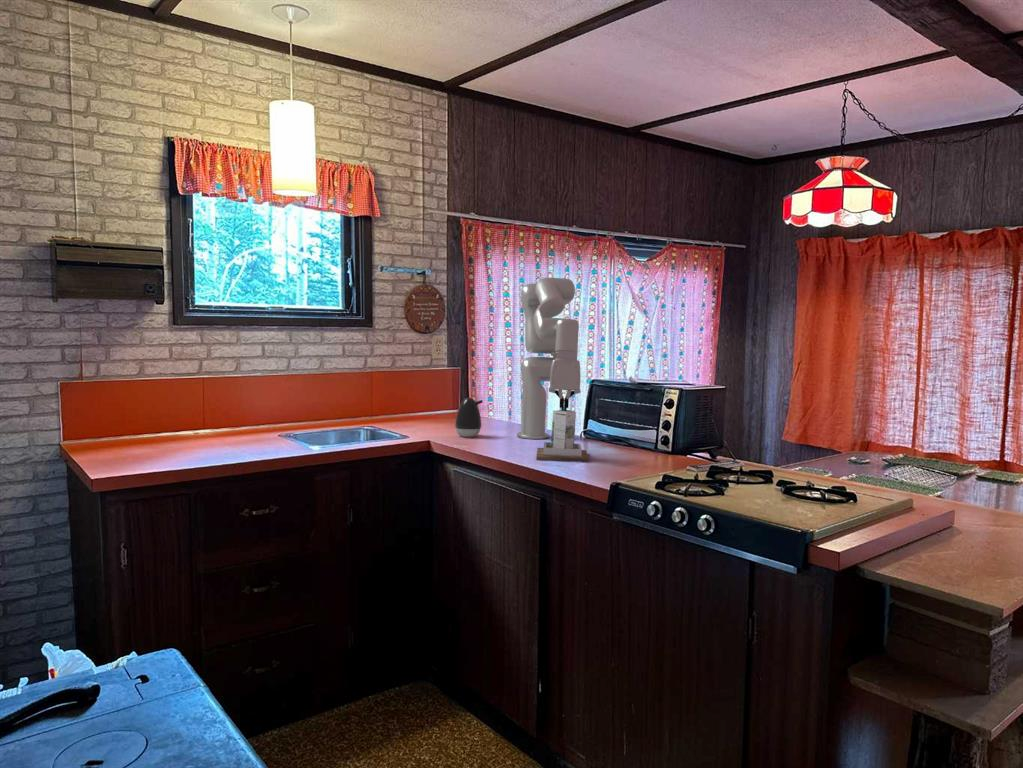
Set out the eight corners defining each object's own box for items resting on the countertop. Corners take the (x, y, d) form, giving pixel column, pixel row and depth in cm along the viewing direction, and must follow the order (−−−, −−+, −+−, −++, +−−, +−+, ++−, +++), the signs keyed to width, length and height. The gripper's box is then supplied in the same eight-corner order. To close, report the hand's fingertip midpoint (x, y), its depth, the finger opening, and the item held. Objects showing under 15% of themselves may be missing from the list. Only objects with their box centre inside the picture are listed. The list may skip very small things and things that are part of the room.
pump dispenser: (480, 439, 283) (482, 399, 281) (453, 437, 283) (454, 398, 281) (482, 435, 293) (483, 396, 291) (456, 434, 293) (457, 395, 292)
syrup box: (560, 450, 255) (561, 409, 254) (574, 453, 251) (576, 410, 250) (550, 452, 251) (552, 410, 250) (564, 455, 247) (566, 411, 246)
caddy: (537, 451, 260) (537, 440, 260) (586, 453, 259) (586, 442, 259) (536, 459, 243) (536, 448, 243) (588, 462, 242) (588, 451, 242)
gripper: (543, 355, 245) (541, 410, 246) (589, 357, 244) (586, 412, 246) (544, 354, 252) (541, 408, 254) (588, 356, 252) (585, 409, 253)
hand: (563, 410), depth 250 cm, fingers closed
